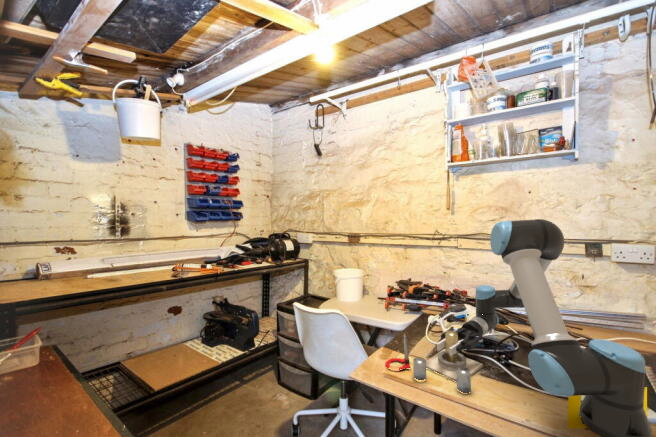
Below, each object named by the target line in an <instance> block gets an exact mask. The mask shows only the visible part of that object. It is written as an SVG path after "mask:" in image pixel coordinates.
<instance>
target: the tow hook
mask: <svg viewBox="0 0 656 437" xmlns="http://www.w3.org/2000/svg"><path fill="white" fill-rule="evenodd" d="M403 348H404V354H403V355H404V356H403V357H404V358H400V357H399V358H398V357H395V358H390V359H388V360H386V362H385V363H384V364H385V365H384V366H385V368H386V367H387V368H389V367H390V366H391V363H395V362H394V361H399V362H398V363H400V362H402V363H401V364H403V365H402V366H399V367H398V368H399V370H400V369H404V368H411V365H410V364H411V363H410V356H409V351H408V349H409V348H408V340H407V335H406V333H404V334H403ZM387 368H386V369H387Z"/></svg>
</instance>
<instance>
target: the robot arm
mask: <svg viewBox="0 0 656 437" xmlns="http://www.w3.org/2000/svg"><path fill="white" fill-rule="evenodd" d="M489 237H490V238H489V241H490V243H489V244H490V248H491V251H492V253H493V254H494V255H496V256H501V259H502V261H503V264H506V265H508V266H509V267H510V270H511V273H512V276H513V281H512V283H511V284H510V287H509V288H508V289H495V288H496V287H494V286H491V285H490V284H489V285H488V284H487V285H485V284H481V285H478V286H476V287H475V316H474V317H473V318H471V319H469V320H468V321H466V322H465V323H463V324H462V326H461V327H459V328H455V327H454V326H450V328H449V329H447V330H446V331H455V332H457V333H458V343H456V344H455V345H453V346H452V347H450V348H449V355H450V356H452V355H453V354H455V353H456V352H458V353H460V352H462V351H463V350H466V352H470V351H472V350H473V349H474V348H476V347H477V346H479V345H482V344H483V343H484V337H483V336H485V335H486V334H488V333H489V332H491V331H493V330H494V329H495V328H496V327H497V326H498V325H499V323H500V318H499V316H498V314H497V313H496V309H513V308H515V309H516V308H517V309H518V308H520V309H523V308H524V311H525V313H526V317H527V319H528V322H529V325H530V328H531V331H532V333H533V334H532V335H533V336H534V340H533V342H531V343H532V344H531V348H532V350H531V351H530V352H529V353H528V358H527V360H528V367H529V369H530V372H531V374H532V376H533V378H534V380H535V381H536V383H537V384H538V386H539V387H541V389H543V390H544V391H545V392H546V393H547V394H550V395H553V396H557V397H558V396H559V397H560V396H564V397H573V396H584V397H583V399H582V401H581V403H580V405H579V417H580V416H581V418H582V420H583V421H582V420H581V421H582V422H583V424H584V425H586V427H587V428H589V429H590V430H591V431H593V432H595V433H596V434H597V435H599V436H601V437H653V436H652V434H653V433H652V427H651V424H650V421H649V418H648V417H647V414H646V413H647V412H646V411H645V408H644V404H645V403H644V402H645V389H646V388H645V387H646V374H647V370H646V360H645V358H644V356H643V355H642V354H641V353H640V352H638V351H637V350H635V349H633V348H631V347H629V346H627V345H625V344H621V343H618V342H617V341H613V340H608V339H603V338H602V339H601V338H594V339H591V340H590V341H589V343H588V348H586V347H585V348H581V345H580V343H579V341H578V339H577V338H575V337H573V336H571V335H570V334H569V332H568V330H567V327H566V325H565V322H564V319H563V317H562V315H561V312H560V310H559V306H558V303H557V302H556V299H555V297H554V295H553V292H552V289H551V287H550V284H549V281H548V280H547V277H546V275H545V273H546V271H547V269H548V268H549V266H550V264H551V263H552V262H553V261H555V260H557V259H559V257H560V256H561V254H562V253H563V250H564V247H565V237H564V233H563V232H562V230H561V228H560V227H559V226H558V225H556V224H555V222H552V221H551V220H547V219H542V218H539V219H538V218H537V219H524V220H523V219H522V220H521V219H519V220H517V219H516V220H509V219H508V220H503V221H497V222H496V223H495V224H494V225H493V227H492V229H491V232H490V236H489ZM482 314H483V315H482ZM446 331H444V332H442V333H441V334H440V340H439V341H438V342H437V343H436V351H438V352H440V351H442V350H443V349H445V348H446V338H445V332H446ZM459 341H460V342H459ZM581 418H580V419H581Z"/></svg>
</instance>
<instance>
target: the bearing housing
mask: <svg viewBox="0 0 656 437" xmlns="http://www.w3.org/2000/svg"><path fill="white" fill-rule="evenodd" d="M458 367H465V368H468V369H469V370H470V372H471V376H474V375H475V374H476V373H478V372H479V371H480V370H481V369H482V368H484V363H481V362H479V361H477V360H474V359H471V358H468V357H466V356H465V355H464V354H462V353H460V352H458V363H451V362H447V361H446V348H443V349H441V350H440V351H438V353H436V354H434V355H432V356H430V358H429V359H427V360H426V368H428V369H430V370H432V371H435V372H437V373H439V374H441V375H444V376H445V377H448V378H450V379H451V380H454V381H456V382H457V374H456V369H457V368H458ZM428 369H427V370H428ZM430 370H429V371H430ZM432 371H431V372H432ZM439 374H438V375H439ZM441 375H440V376H441ZM445 377H444V378H445ZM451 380H450V381H451ZM454 381H453V382H454ZM456 382H455V383H456Z"/></svg>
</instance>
